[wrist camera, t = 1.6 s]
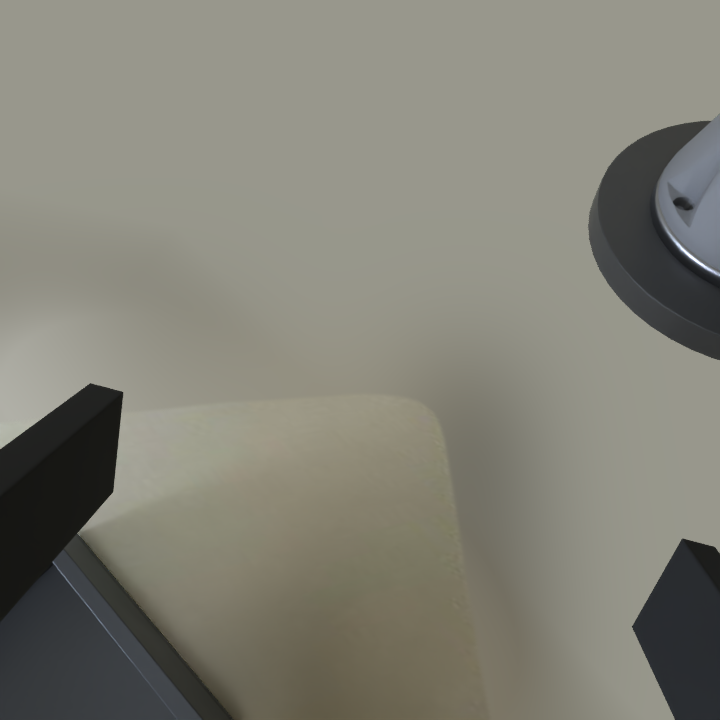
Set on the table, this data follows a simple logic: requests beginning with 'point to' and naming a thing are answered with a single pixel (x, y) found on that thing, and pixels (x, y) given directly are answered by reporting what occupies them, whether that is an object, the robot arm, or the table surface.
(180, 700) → the basket
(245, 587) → the table surface
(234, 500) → the table surface
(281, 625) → the table surface
